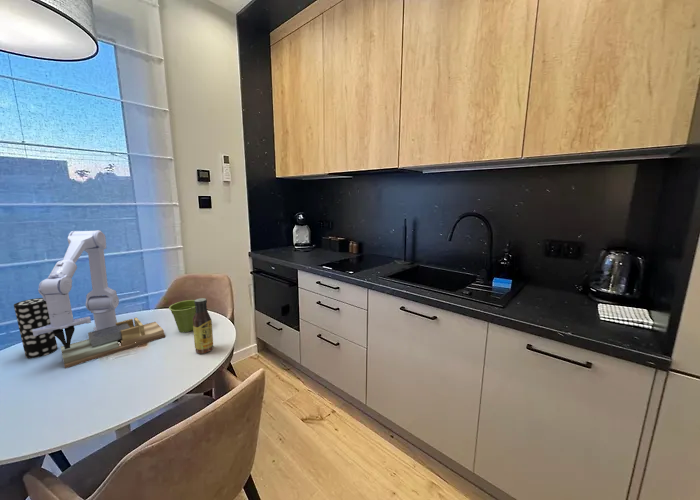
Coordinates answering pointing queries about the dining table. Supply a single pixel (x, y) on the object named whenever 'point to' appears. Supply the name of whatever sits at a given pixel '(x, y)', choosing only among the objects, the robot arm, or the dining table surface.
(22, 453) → the dining table surface
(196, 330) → the sauce bottle
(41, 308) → the white-spotted black cylinder
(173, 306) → the plant pot
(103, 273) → the robot arm
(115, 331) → the metal block
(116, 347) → the tan piece
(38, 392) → the dining table surface
